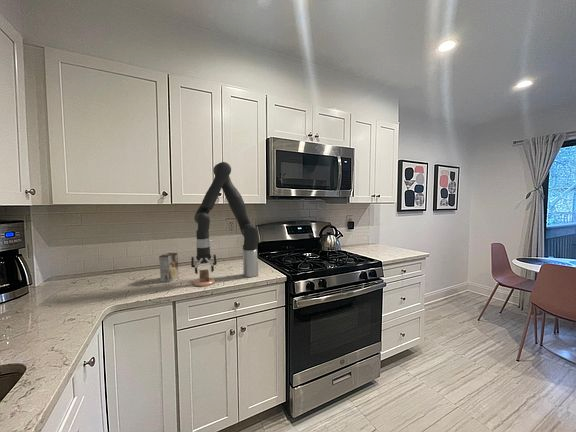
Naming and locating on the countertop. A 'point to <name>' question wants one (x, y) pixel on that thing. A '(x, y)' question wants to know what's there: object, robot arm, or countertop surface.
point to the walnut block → (204, 275)
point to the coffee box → (168, 267)
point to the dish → (203, 284)
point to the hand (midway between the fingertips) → (204, 272)
